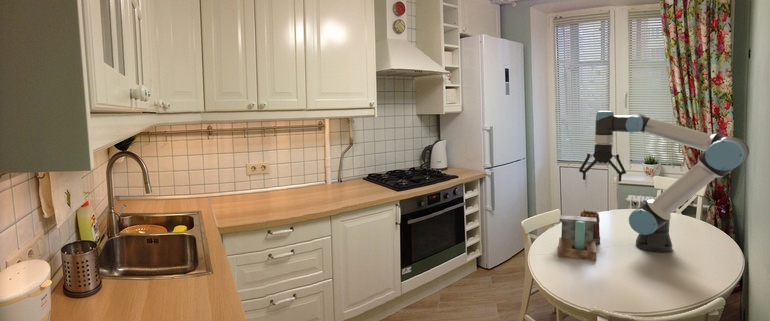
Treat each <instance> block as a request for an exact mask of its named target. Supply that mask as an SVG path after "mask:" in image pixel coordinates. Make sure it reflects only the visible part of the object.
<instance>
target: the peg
mask: <svg viewBox="0 0 770 321" xmlns="http://www.w3.org/2000/svg"><path fill="white" fill-rule="evenodd" d="M584 239H585V222H584V221H576V224H575V249H578V250H584Z"/></svg>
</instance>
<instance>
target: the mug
mask: <svg viewBox="0 0 770 321" xmlns="http://www.w3.org/2000/svg"><path fill="white" fill-rule="evenodd" d="M579 217H591V218H596V220H597V224H594V229H593V240H595V244H596V246H597V245H599V244H600V243H601V236H600V235H601V234H600V220H601V219H600V214H599V212H597V211H592V210H591V211H590V210H589V209H583V211H581V212H580V215H579Z"/></svg>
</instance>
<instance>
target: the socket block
mask: <svg viewBox="0 0 770 321" xmlns="http://www.w3.org/2000/svg"><path fill="white" fill-rule="evenodd" d="M576 221H584V222H585V239H584V250H578V249H575V224H576ZM559 222H561V236H560V237H558V245H557V246H558V247H557V258H565V259H566V258H567V259H575V260H585V261H593V262H596V261H597V255H598V254H597V253H598V252H597V245H596V244H595V240H593V229H594V224H597V220H596V218H591V217H580V216H576V215H563V214H560V215H559Z"/></svg>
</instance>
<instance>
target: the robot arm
mask: <svg viewBox="0 0 770 321" xmlns="http://www.w3.org/2000/svg"><path fill="white" fill-rule="evenodd" d="M594 129H595V131H594V133H595V134H594V143H595V144H594V148H593V149H594V152H593V153H590V152H587V154H586V158H585V159H584V161H583V163H582V164H581V166H580V168H579V169H578V172H579V173H582V180H583V181H584V187H585V188H587V187H588V171H589V170H590V169H591V168H592V167H594V166H595V165H596V164H597V163H598V164H607V163H608V164H609V165H610V166H611V167H612V168H613V169H614V170H615V172H616V177H615V178H616V182H615V189H619V183H620V182H622V175H625V174H627V171H626V169H625V166H623V164H622V162H621V159H620V154H619V153H615V154H613V137H614V135H613V134H614V132H620V133H631V134H632V133H644V134H647V135H650V136H653V137H657V138H661V139H663V140H666V141H669V142H673V143H677V144H678V145H679V144H680V145H683V146H687V147H690V148H693V149H696V150H700V151H703V152H702V153H701V154H700V155H699V156H698V157H697V163H696V164H694V165H693V166H692V167H691V168H690V169H689V170H687V171H686V172H685V173H684V174H682V175H681V176H680V177H679V178H678V179H676V180H675V181H674V182H673V183H672V184H670V186H668V187H667V188H665V190H664V191H662V192H661V193H660V194H659V195H658V196H657V197H655V198H654V199H653V198H652V199H651V198H645V199H643V200H642V203H641V205H640V206H639V207H638V208H636V209H634V210H633V211H631V213H630V214H629V216H628V224H629V226H630V228H631V229H632V230H633V231H634V232H635V233H637V237H636V239H635V246H636V247H637V248H638V249H641V250H645V251H649V252H654V253H668V252H671V251H673V243H672V238H671V235H670V223H671V221H670V220H671V217H672V216H671V214H672V213H673V212H675V211H676V210H677V209H678V208H680V207H681V206H682V205H683V204H685V203H686V202H687V201H688V200H689V199H691V198H692V197H693V196H694V195H696V194H698V193H699V192H700V191H701V190H702V189H703V188H705V187H706V186H707V185H708V184H710V183H711V182H712V181H714V180H715V179H716V178H724V177H725V176H726V175H728V174H729V173H730V172H731V171H733V170H734V169H735V168H737V167H739V166H740V164H742V163H744V162H745V161H746V160H747V159H748V157H749V155H750V147H749V145H748V144H747V142H746V141H744V140H743V139H741V138H738V137H734V136H729V135H725V134H720V133H717V132H716V133H714V134H711V133H707V132H703V131H700V130H696V129H692V128H690V127H686V126H682V125H678V124H675V123H671V122H668V121H665V120H664V121H663V120H660V119H657V118H653V117H650V116H647V115H645V114H643V113H635V114H630V115H629V114H628V115H615V113H614V111H613V110H611V111H610V110H599V111H597V112H596V113H595V128H594ZM592 157H593V158H594V160H592V161H591V163H590V164H589V165H588V166H586V165H587V163H588V162H589V160H590V159H591V158H592ZM613 158H614V159H615V160H616V162H617V163H618V166H619V167H620V169H621V170H620V169H619V168H618V167H617V166H616V165H615V164H614V162H613V161H612V159H613ZM585 167H586V168H585ZM584 168H585V169H584Z"/></svg>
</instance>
